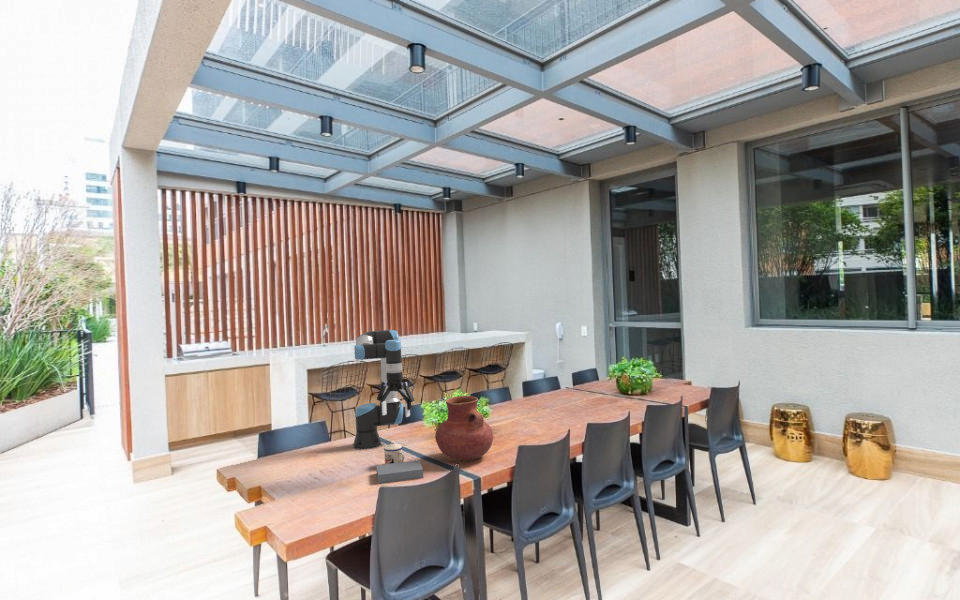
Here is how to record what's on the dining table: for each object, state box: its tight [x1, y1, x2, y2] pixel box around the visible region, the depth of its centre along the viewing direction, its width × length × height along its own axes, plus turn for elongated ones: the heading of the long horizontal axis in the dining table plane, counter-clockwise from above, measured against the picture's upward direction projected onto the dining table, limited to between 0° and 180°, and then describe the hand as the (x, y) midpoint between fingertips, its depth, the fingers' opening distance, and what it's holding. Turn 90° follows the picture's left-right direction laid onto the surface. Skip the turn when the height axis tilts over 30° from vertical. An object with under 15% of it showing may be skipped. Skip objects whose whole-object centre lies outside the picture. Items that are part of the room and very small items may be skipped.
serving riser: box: [375, 459, 424, 485], centre depth 231 cm, size 14×20×4 cm
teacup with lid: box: [383, 440, 405, 464], centre depth 247 cm, size 12×9×12 cm
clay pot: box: [435, 395, 494, 461], centre depth 255 cm, size 30×29×30 cm
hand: (396, 415), depth 243 cm, fingers open, 13 cm apart
